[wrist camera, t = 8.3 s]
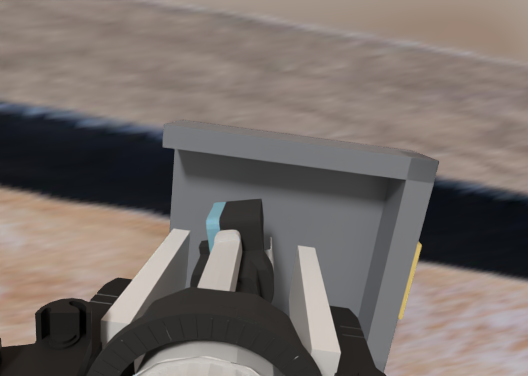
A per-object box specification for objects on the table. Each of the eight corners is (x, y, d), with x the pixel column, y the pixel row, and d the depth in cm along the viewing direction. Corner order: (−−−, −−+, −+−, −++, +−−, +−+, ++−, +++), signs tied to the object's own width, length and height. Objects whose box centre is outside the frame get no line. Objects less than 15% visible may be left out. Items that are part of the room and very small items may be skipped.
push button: (303, 318, 17) (348, 611, 7) (196, 325, 17) (99, 621, 7) (293, 186, 15) (333, 339, 6) (174, 197, 16) (15, 361, 6)
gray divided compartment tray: (159, 447, 23) (143, 497, 21) (182, 119, 18) (163, 124, 15) (339, 472, 23) (349, 524, 21) (418, 151, 18) (446, 162, 15)
